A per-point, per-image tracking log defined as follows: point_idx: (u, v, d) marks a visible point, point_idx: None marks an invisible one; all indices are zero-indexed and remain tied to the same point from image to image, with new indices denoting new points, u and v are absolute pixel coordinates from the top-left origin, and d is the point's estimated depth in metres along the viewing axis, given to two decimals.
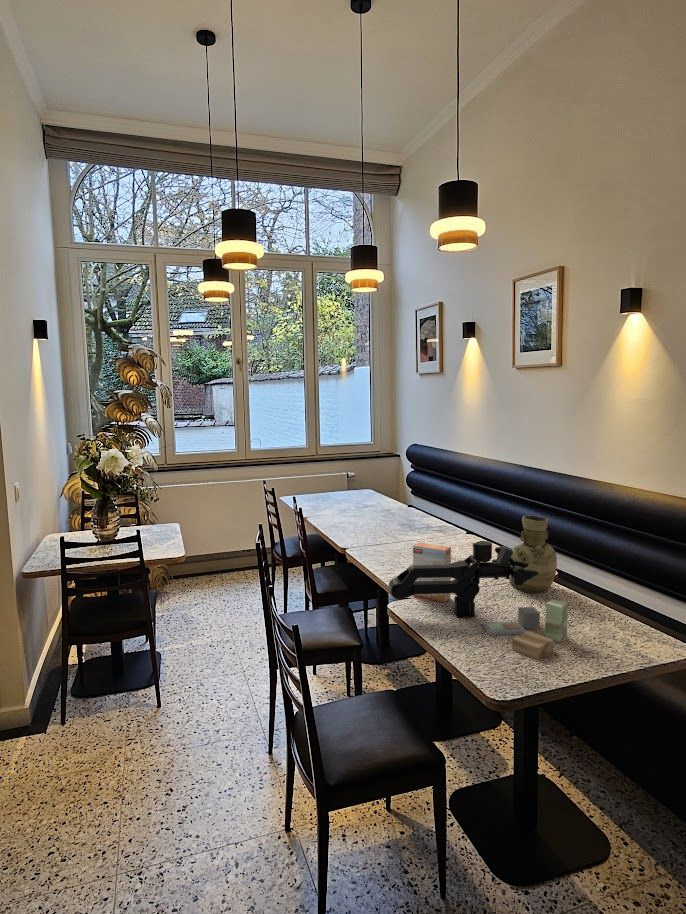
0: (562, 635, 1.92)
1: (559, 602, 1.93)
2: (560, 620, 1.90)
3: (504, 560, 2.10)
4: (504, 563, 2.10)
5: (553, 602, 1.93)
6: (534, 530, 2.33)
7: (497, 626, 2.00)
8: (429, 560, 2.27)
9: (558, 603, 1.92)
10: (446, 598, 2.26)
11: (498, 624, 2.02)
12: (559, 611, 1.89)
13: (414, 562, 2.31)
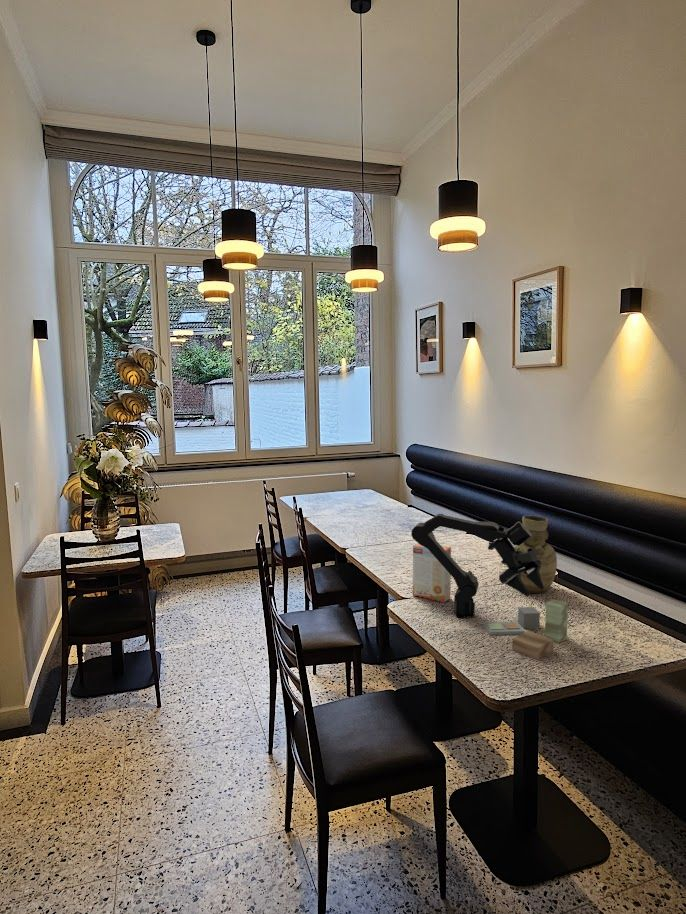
0: (562, 635, 1.92)
1: (559, 602, 1.93)
2: (560, 620, 1.90)
3: (518, 558, 1.99)
4: (516, 559, 2.00)
5: (553, 602, 1.93)
6: (534, 530, 2.33)
7: (497, 626, 2.00)
8: (429, 560, 2.27)
9: (558, 603, 1.92)
10: (446, 598, 2.26)
11: (498, 624, 2.02)
12: (559, 611, 1.89)
13: (414, 562, 2.31)
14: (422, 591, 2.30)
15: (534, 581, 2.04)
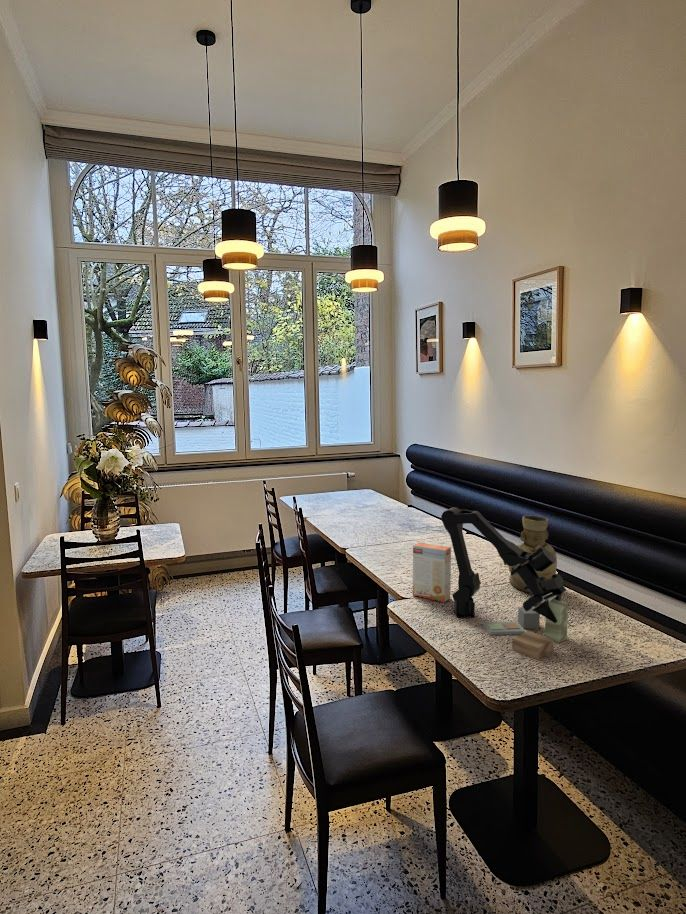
0: (562, 635, 1.92)
1: (559, 602, 1.93)
2: (560, 620, 1.90)
3: (543, 585, 1.93)
4: (540, 586, 1.93)
5: (553, 602, 1.93)
6: (534, 530, 2.33)
7: (497, 626, 2.00)
8: (429, 560, 2.27)
9: (558, 603, 1.92)
10: (446, 598, 2.26)
11: (498, 624, 2.02)
12: (559, 611, 1.89)
13: (414, 562, 2.31)
14: (422, 591, 2.30)
15: None
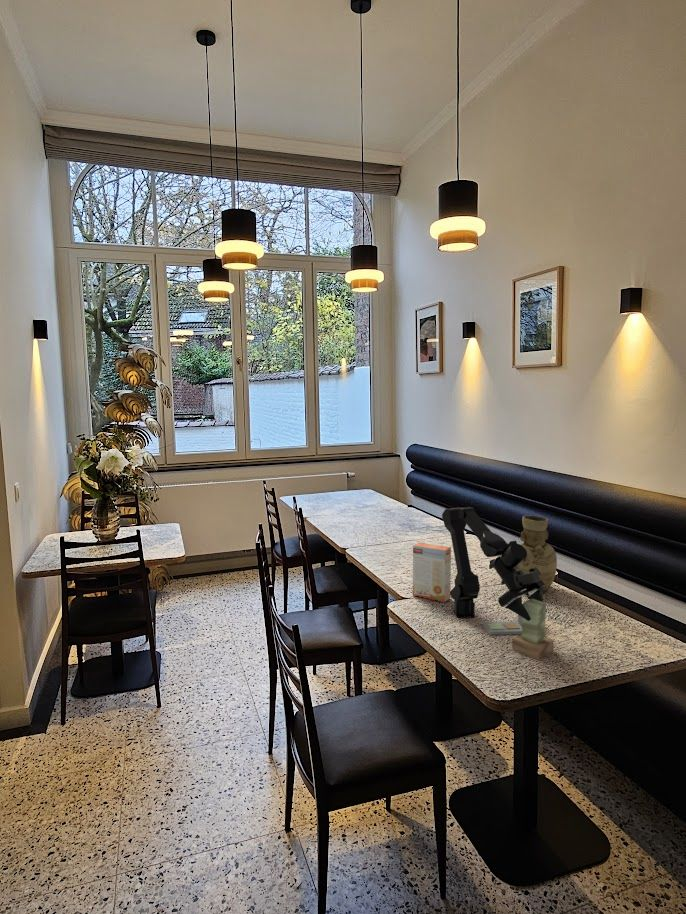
0: (540, 636, 1.82)
1: (537, 601, 1.84)
2: (537, 620, 1.80)
3: (520, 579, 1.84)
4: (517, 581, 1.84)
5: (530, 601, 1.84)
6: (534, 530, 2.33)
7: (497, 626, 2.00)
8: (429, 560, 2.27)
9: (536, 602, 1.83)
10: (446, 598, 2.26)
11: (498, 624, 2.02)
12: (536, 611, 1.80)
13: (414, 562, 2.31)
14: (422, 591, 2.30)
15: None
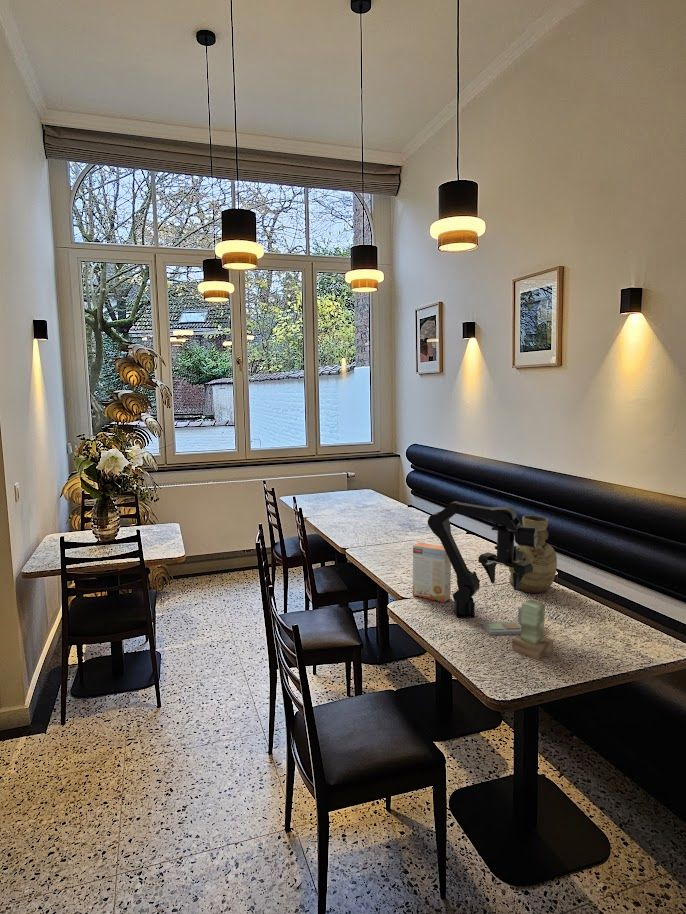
0: (539, 637, 1.82)
1: (536, 602, 1.83)
2: (535, 621, 1.80)
3: (518, 553, 2.05)
4: (517, 554, 2.04)
5: (529, 602, 1.83)
6: None
7: (497, 626, 2.00)
8: (429, 560, 2.27)
9: (535, 603, 1.83)
10: (446, 598, 2.26)
11: (498, 624, 2.02)
12: (534, 611, 1.80)
13: (414, 562, 2.31)
14: (422, 591, 2.30)
15: (491, 574, 2.08)
